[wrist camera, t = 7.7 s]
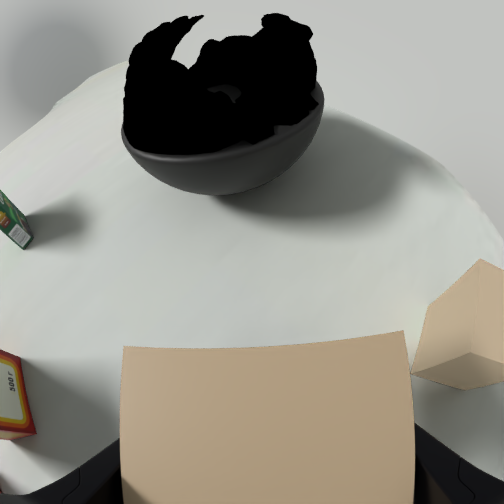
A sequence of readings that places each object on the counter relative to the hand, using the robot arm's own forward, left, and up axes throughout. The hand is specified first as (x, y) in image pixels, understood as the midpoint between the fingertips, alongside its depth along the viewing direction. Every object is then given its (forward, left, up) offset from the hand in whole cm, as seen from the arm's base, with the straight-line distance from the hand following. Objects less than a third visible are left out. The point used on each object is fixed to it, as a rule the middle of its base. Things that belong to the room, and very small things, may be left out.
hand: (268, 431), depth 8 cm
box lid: (-1, 0, 0) cm, 1 cm away
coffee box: (+12, +41, -13) cm, 44 cm away
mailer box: (+7, -14, -13) cm, 20 cm away
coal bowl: (+25, +10, -13) cm, 30 cm away
